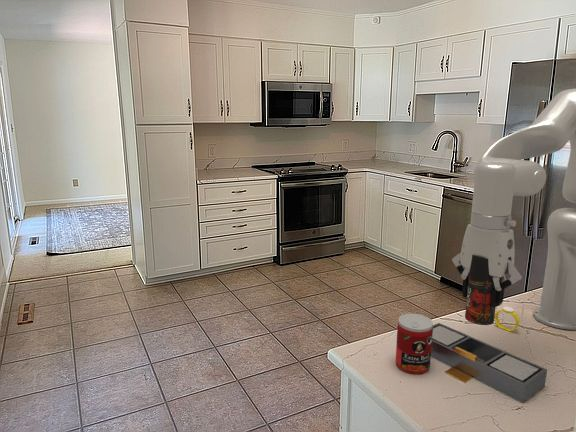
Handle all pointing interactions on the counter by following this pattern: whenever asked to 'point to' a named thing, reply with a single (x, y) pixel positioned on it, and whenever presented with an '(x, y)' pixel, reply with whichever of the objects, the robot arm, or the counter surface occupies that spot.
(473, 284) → the deodorant
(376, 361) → the counter surface
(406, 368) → the canned food
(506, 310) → the watch
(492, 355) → the rack
